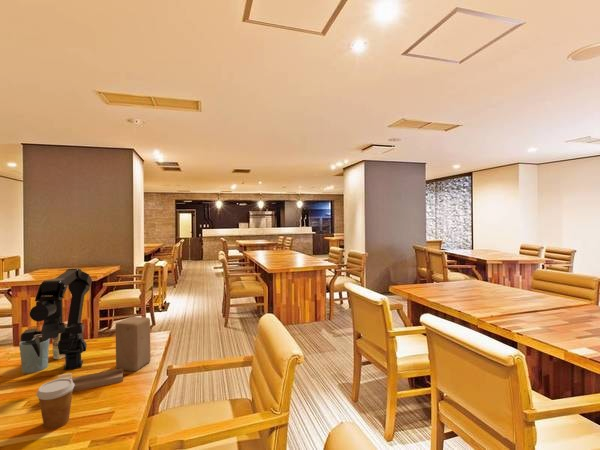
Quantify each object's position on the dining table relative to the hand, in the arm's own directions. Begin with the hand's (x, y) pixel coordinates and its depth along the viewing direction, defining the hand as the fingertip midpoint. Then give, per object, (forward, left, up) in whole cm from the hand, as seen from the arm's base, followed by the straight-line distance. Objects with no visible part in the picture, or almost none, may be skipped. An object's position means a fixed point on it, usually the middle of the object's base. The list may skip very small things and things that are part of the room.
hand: (54, 353), depth 126 cm
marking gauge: (+8, +5, -12) cm, 15 cm away
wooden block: (-4, +27, -12) cm, 30 cm away
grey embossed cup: (-21, -10, -12) cm, 26 cm away
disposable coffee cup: (+29, +5, -12) cm, 32 cm away
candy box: (-31, -1, -12) cm, 33 cm away
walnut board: (+5, +11, -12) cm, 17 cm away
